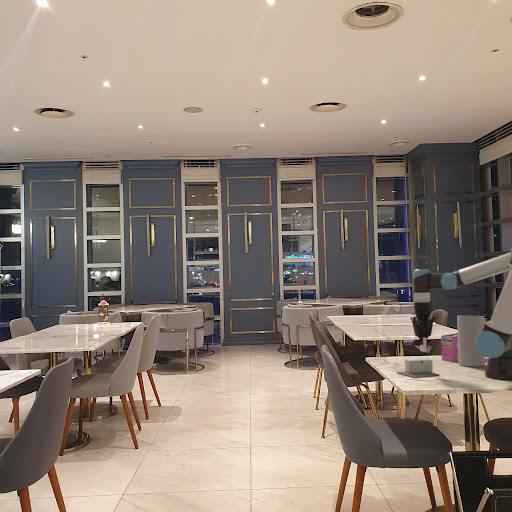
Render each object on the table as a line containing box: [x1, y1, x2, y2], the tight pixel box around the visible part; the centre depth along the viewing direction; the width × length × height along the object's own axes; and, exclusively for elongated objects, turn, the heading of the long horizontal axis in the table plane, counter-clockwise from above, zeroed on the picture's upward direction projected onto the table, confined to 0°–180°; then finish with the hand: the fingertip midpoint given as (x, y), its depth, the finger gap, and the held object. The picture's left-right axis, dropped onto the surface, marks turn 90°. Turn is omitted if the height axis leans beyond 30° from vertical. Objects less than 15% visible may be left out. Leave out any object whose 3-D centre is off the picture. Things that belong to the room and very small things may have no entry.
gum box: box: [440, 332, 459, 363], centre depth 288 cm, size 24×8×14 cm, turn 128°
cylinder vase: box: [456, 315, 486, 368], centre depth 266 cm, size 12×12×25 cm
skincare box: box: [404, 358, 434, 373], centre depth 246 cm, size 6×4×12 cm
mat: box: [396, 370, 440, 379], centre depth 243 cm, size 13×14×1 cm
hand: (423, 351), depth 245 cm, fingers closed
